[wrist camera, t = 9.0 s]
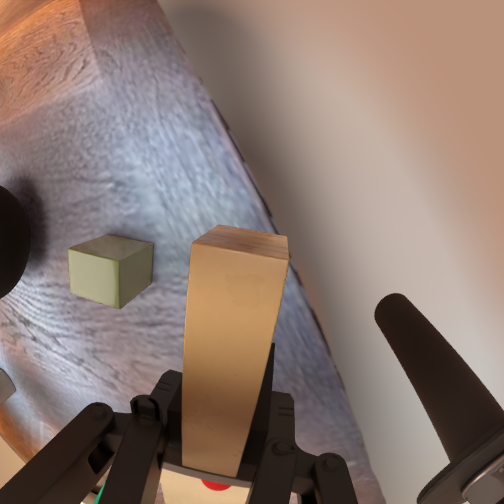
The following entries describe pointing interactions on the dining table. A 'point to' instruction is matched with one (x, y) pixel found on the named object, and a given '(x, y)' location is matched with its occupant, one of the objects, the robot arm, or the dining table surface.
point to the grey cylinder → (5, 387)
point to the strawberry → (215, 485)
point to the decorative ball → (12, 241)
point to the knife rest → (110, 269)
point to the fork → (226, 348)
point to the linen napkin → (197, 491)
